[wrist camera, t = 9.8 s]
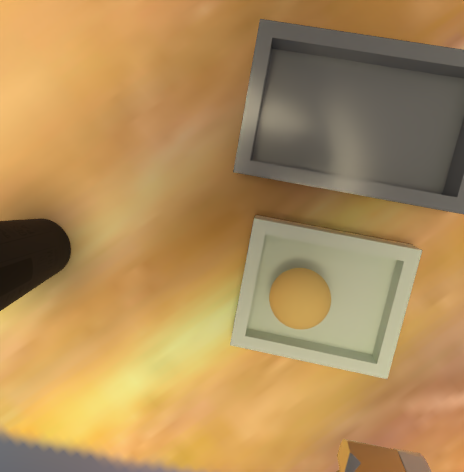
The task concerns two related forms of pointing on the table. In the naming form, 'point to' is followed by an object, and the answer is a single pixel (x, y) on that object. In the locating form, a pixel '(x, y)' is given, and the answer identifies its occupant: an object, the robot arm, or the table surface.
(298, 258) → the tray
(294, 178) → the dish
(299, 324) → the ball
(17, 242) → the drinking cup
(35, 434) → the table surface
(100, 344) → the table surface
